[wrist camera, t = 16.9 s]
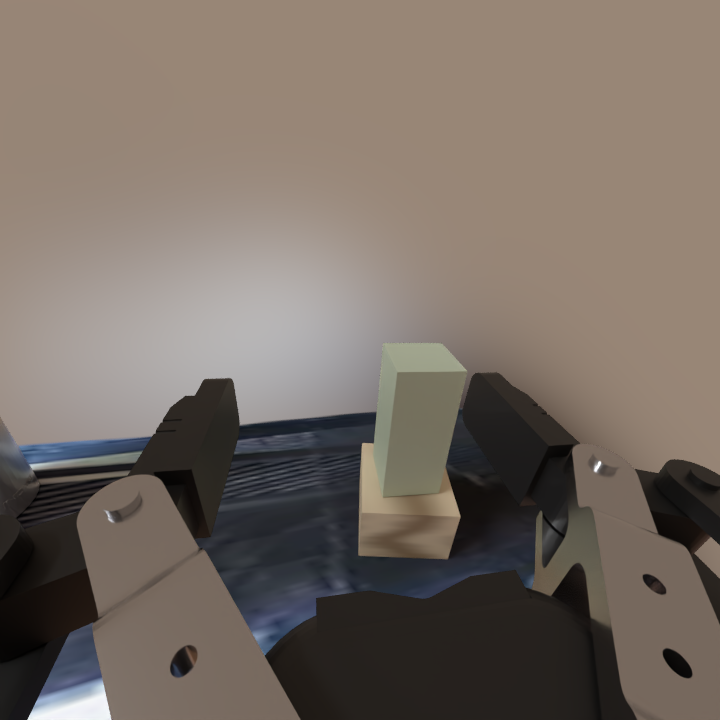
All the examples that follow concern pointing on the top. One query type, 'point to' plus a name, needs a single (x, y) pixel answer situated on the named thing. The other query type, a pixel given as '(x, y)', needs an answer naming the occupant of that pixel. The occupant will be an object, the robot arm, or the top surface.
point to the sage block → (415, 416)
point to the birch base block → (404, 518)
